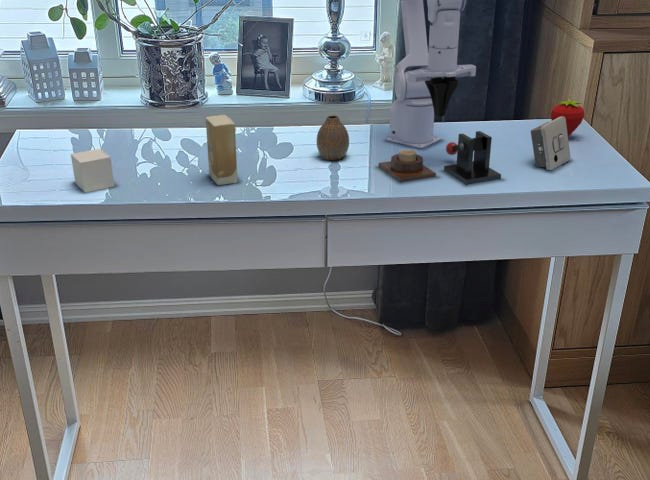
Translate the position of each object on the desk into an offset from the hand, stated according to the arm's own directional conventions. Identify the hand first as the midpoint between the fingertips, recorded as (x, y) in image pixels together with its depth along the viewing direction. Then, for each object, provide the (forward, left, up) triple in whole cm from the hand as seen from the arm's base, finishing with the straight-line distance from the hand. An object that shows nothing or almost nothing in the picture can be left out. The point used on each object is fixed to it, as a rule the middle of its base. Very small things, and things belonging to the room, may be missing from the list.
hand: (439, 115), depth 183 cm
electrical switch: (+18, +15, -11) cm, 26 cm away
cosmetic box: (-29, -34, -11) cm, 46 cm away
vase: (-20, -10, -11) cm, 25 cm away
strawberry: (+13, +33, -11) cm, 37 cm away
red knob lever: (+6, 0, -7) cm, 9 cm away
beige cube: (-47, -52, -11) cm, 71 cm away
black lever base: (+9, -1, -10) cm, 14 cm away
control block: (-2, -8, -10) cm, 13 cm away
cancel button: (-2, -8, -8) cm, 11 cm away
